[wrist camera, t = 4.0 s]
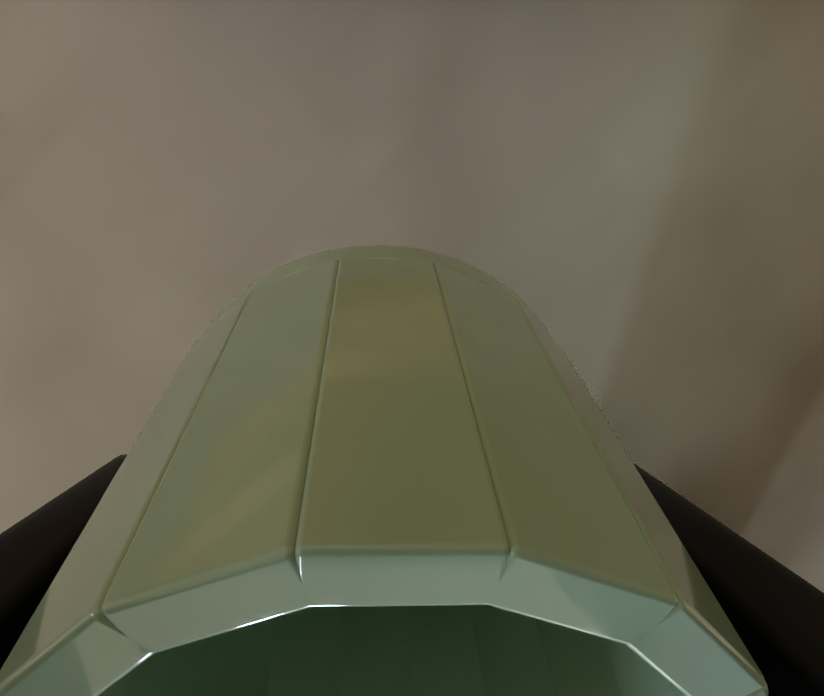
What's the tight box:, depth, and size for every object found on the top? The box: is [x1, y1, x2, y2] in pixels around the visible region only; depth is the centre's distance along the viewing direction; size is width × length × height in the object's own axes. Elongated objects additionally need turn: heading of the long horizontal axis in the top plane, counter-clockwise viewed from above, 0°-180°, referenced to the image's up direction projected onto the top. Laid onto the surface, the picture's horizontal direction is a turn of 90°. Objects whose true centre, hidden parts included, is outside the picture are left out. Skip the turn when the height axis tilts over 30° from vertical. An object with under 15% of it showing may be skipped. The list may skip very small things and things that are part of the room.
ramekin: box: [0, 245, 769, 696], centre depth 7 cm, size 6×6×6 cm
